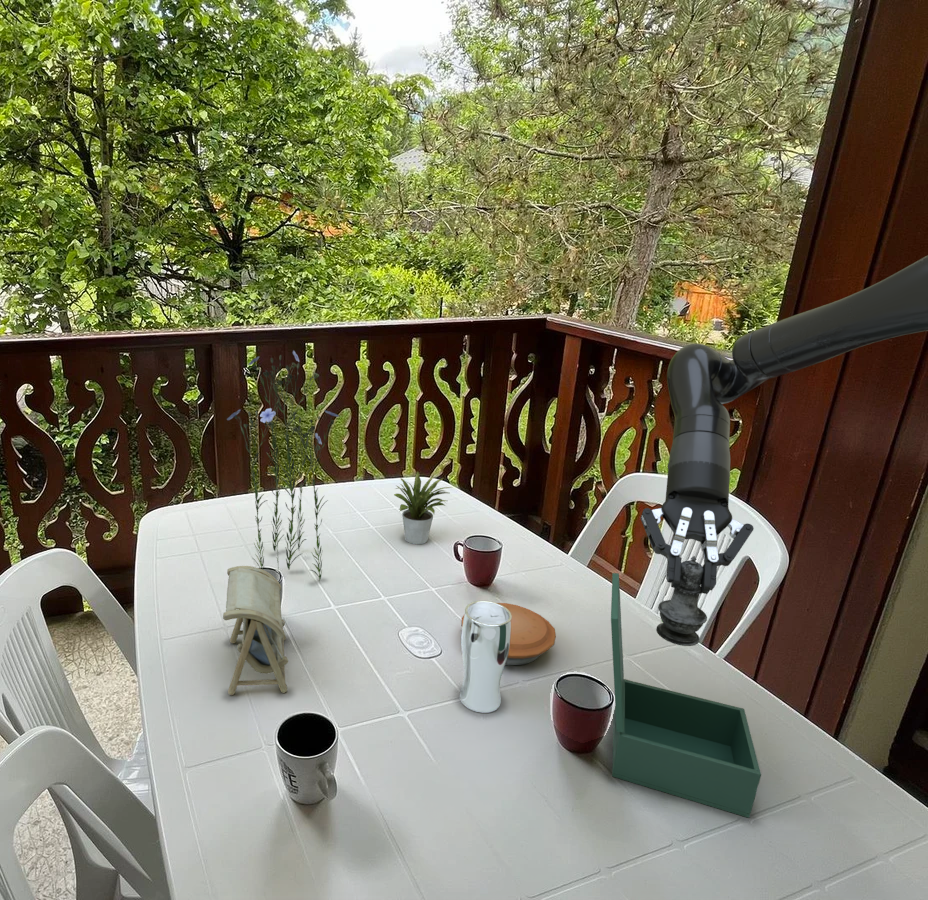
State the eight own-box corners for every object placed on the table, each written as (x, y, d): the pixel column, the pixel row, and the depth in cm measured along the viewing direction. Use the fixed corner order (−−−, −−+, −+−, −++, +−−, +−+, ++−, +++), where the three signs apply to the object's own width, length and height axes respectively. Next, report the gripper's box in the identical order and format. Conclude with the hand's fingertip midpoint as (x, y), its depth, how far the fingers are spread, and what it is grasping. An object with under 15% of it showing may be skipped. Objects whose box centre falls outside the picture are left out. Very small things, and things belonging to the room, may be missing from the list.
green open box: (734, 748, 87) (744, 708, 85) (749, 818, 76) (761, 774, 74) (613, 715, 93) (620, 678, 91) (612, 776, 82) (619, 735, 80)
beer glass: (447, 698, 96) (453, 611, 92) (474, 678, 101) (482, 594, 96) (485, 722, 91) (495, 632, 87) (512, 700, 96) (522, 613, 91)
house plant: (422, 562, 137) (426, 492, 132) (372, 542, 146) (374, 475, 141) (457, 540, 147) (462, 474, 142) (409, 523, 156) (412, 460, 151)
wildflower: (327, 601, 122) (329, 369, 108) (216, 586, 127) (204, 362, 113) (351, 549, 143) (355, 349, 129) (254, 538, 148) (248, 344, 134)
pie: (466, 613, 118) (468, 589, 117) (553, 629, 113) (557, 605, 112) (453, 662, 104) (455, 636, 103) (552, 683, 100) (556, 656, 98)
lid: (618, 573, 87) (612, 572, 87) (618, 618, 76) (610, 618, 76) (623, 675, 90) (617, 674, 91) (623, 732, 80) (616, 731, 80)
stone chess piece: (644, 627, 89) (658, 549, 85) (675, 618, 91) (691, 542, 87) (679, 651, 83) (697, 570, 80) (712, 641, 85) (730, 562, 82)
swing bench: (289, 694, 97) (287, 609, 92) (225, 698, 96) (221, 612, 91) (285, 637, 111) (284, 561, 106) (230, 640, 110) (226, 563, 105)
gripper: (647, 452, 89) (634, 569, 82) (764, 466, 84) (762, 592, 77) (639, 475, 95) (627, 585, 88) (749, 490, 90) (745, 608, 83)
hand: (690, 588), depth 83 cm, fingers closed on stone chess piece, 3 cm apart
